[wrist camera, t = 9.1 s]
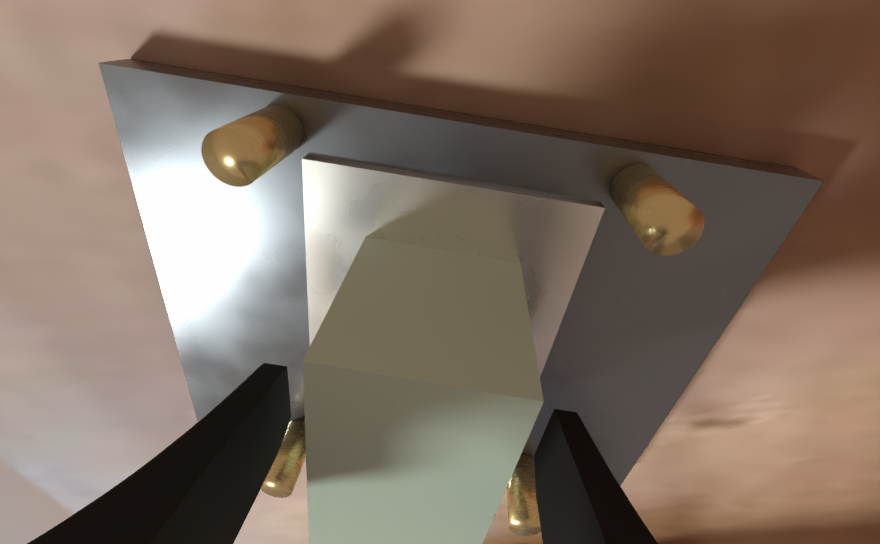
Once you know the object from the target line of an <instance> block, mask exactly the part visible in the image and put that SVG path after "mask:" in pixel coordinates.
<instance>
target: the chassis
mask: <svg viewBox="0 0 880 544" xmlns="http://www.w3.org/2000/svg"><path fill="white" fill-rule="evenodd" d="M99 66H100V70H101V73H102V77H103V80H104V84H105V88H106V91H107V95H108V99H109V102H110V106H111V109H112V113H113V117H114V120H115V124H116V128H117V131H118V135H119V138H120V142H121V146H122V149H123V153H124V156H125V160H126V164H127V167H128V171H129V175H130V178H131V182H132V185H133V189H134V193H135V196H136V200H137V203H138V207H139V211H140V214H141V218H142V222H143V225H144V229H145V232H146V236H147V240H148V243H149V247H150V250H151V254H152V258H153V261H154V265H155V269H156V272H157V276H158V279H159V283H160V287H161V290H162V294H163V297H164V301H165V305H166V308H167V312H168V316H169V319H170V323H171V326H172V330H173V334H174V337H175V341H176V344H177V348H178V352H179V355H180V359H181V363H182V366H183V370H184V373H185V377H186V381H187V384H188V388H189V391H190V395H191V399H192V402H193V406H194V410H195V413H196V417H197V420H198V422H199V421H200V420H201V419H202V418H203V417H205V416H206V415H207V414H208V413H209V412H210V411H211V410H213V409H214V408H215V407H216V406H217V405H218V404H219V403H221V402H222V401H223V400H224V399H225V398H226V397H227V396H228V395H229V394H231V393H232V392H233V391H234V390H235V389H236V388H237V387H238V386H239V385H240V384H241V383H242V382H244V381H245V380H246V379H247V378H248V377H249V376H250V375H251V374H252V373H253V372H254V371H255V370H256V369H257V368H258V367H259V366H261V365H262V364H264V363H268V364H275V365H281V366H287V371H288V382H289V394H290V406H291V419H290V422H289V425H288V427H287V430H286V433H285V436H284V439H283V441H282V444H281V446H280V449H279V452H278V454H277V456H276V458H275V460H274V463H273V465H272V467H271V469H270V471H269V473H268V475H267V477H266V479H265V481H264V483H263V485H262V487H261V490H262V491H263V492H265V493H266V494H268V495H271V496H274V497H288V496H290V495H291V494H292V491H293V489H294V486H295V484H296V481H297V478H298V476H299V473H300V471H301V468H302V466H303V463H304V460H305V458H306V439H305V412H304V386H303V359H304V357H305V355H306V353H307V351H308V349H309V347H310V345H311V343H312V341H313V339H314V338H315V336H316V334H317V332H318V330H319V328H320V326H321V324H322V322H323V320H324V318H325V316H326V314H327V312H328V310H329V308H330V306H331V304H332V302H333V300H334V298H335V296H336V294H337V292H338V290H339V288H340V286H341V284H342V282H343V280H344V278H345V276H346V274H347V272H348V270H349V268H350V266H351V264H352V262H353V260H354V258H355V256H356V254H357V252H358V250H359V248H360V246H361V244H362V243H363V241H364V239H365V237H366V236H367V237H372V238H378V239H384V240H390V241H395V242H401V243H407V244H413V245H418V246H424V247H430V248H436V249H441V250H447V251H453V252H459V253H464V254H470V255H476V256H482V257H488V258H493V259H499V260H505V261H511V262H516V263H521V269H522V275H523V281H524V287H525V293H526V299H527V305H528V311H529V317H530V323H531V329H532V335H533V341H534V347H535V353H536V358H537V364H538V370H539V376H540V382H541V388H542V394H543V400H544V402H543V405H542V407H541V409H540V412H539V414H538V416H537V419H536V421H535V423H534V426H533V428H532V430H531V432H530V435H529V437H528V439H527V442H526V444H525V446H524V449H523V451H522V453H521V456H520V458H519V460H518V463H517V465H516V467H515V469H514V472H513V474H512V476H511V479H510V481H509V483H508V486H507V502H508V519H509V529H510V530H511V531H512V532H513V533H515V534H518V535H523V536H530V535H535V534H537V533H539V532H540V531H541V526H540V519H539V513H538V506H537V499H536V488H535V463H534V454H535V452H536V449H537V447H538V445H539V443H540V440H541V438H542V436H543V433H544V431H545V429H546V427H547V424H548V422H549V420H550V417H551V415H552V413H553V411H554V409H559V410H565V411H572V412H577V413H578V415H579V416H580V418H581V420H582V421H583V423H584V425H585V427H586V429H587V430H588V432H589V434H590V436H591V438H592V439H593V441H594V443H595V445H596V446H597V448H598V450H599V452H600V453H601V455H602V457H603V458H604V460H605V462H606V464H607V465H608V467H609V469H610V470H611V472H612V474H613V475H614V477H615V479H616V480H617V482H618V483H619V485H621V484H622V482H623V481H624V479H625V478H626V476H627V475H628V473H629V472H630V470H631V469H632V467H633V466H634V464H635V463H636V461H637V460H638V459H639V457H640V456H641V454H642V453H643V451H644V450H645V448H646V447H647V445H648V444H649V442H650V441H651V439H652V438H653V436H654V435H655V433H656V432H657V430H658V429H659V427H660V426H661V424H662V423H663V421H664V420H665V418H666V417H667V415H668V414H669V412H670V411H671V409H672V408H673V406H674V405H675V403H676V402H677V400H678V399H679V397H680V396H681V394H682V393H683V391H684V390H685V388H686V387H687V385H688V384H689V382H690V381H691V379H692V378H693V376H694V375H695V373H696V372H697V370H698V369H699V367H700V366H701V364H702V363H703V361H704V360H705V358H706V357H707V355H708V354H709V352H710V351H711V349H712V348H713V346H714V345H715V343H716V342H717V340H718V339H719V337H720V336H721V335H722V333H723V332H724V330H725V329H726V327H727V326H728V324H729V323H730V321H731V320H732V318H733V317H734V315H735V314H736V312H737V311H738V309H739V308H740V306H741V305H742V303H743V302H744V300H745V299H746V297H747V296H748V294H749V293H750V291H751V290H752V288H753V287H754V285H755V284H756V282H757V281H758V279H759V278H760V276H761V275H762V273H763V272H764V270H765V269H766V267H767V266H768V264H769V263H770V261H771V260H772V258H773V257H774V255H775V254H776V252H777V251H778V249H779V248H780V246H781V245H782V243H783V242H784V240H785V239H786V237H787V236H788V234H789V233H790V231H791V230H792V228H793V227H794V225H795V224H796V222H797V221H798V219H799V218H800V216H801V215H802V213H803V212H804V211H805V209H806V208H807V206H808V205H809V203H810V202H811V200H812V199H813V197H814V196H815V194H816V193H817V191H818V190H819V188H820V187H821V185H822V184H823V182H824V181H822V180H820V179H818V178H816V177H814V176H812V175H810V174H808V173H806V172H804V171H802V170H800V169H798V168H792V167H786V166H780V165H773V164H767V163H761V162H755V161H749V160H743V159H737V158H731V157H724V156H718V155H712V154H706V153H700V152H694V151H688V150H682V149H676V148H669V147H663V146H657V145H651V144H645V143H639V142H633V141H627V140H620V139H614V138H608V137H602V136H596V135H590V134H584V133H578V132H572V131H565V130H559V129H553V128H547V127H541V126H535V125H529V124H523V123H516V122H510V121H504V120H498V119H492V118H486V117H480V116H474V115H468V114H461V113H455V112H449V111H443V110H437V109H431V108H425V107H419V106H412V105H406V104H400V103H394V102H388V101H382V100H376V99H370V98H364V97H357V96H351V95H345V94H339V93H333V92H327V91H321V90H315V89H308V88H302V87H296V86H290V85H284V84H278V83H272V82H266V81H260V80H253V79H247V78H241V77H235V76H229V75H223V74H217V73H211V72H204V71H198V70H192V69H186V68H180V67H174V66H168V65H162V64H156V63H149V62H143V61H137V60H131V59H124V60H117V61H109V62H101V63H99Z"/></svg>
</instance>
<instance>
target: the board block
mask: <svg viewBox="0 0 880 544" xmlns="http://www.w3.org/2000/svg"><path fill="white" fill-rule="evenodd" d="M303 386H304V412H305V439H306V466H307V493H308V520H309V544H482V543H483V541H484V539H485V536H486V534H487V532H488V530H489V527H490V525H491V523H492V520H493V518H494V516H495V513H496V511H497V509H498V506H499V504H500V502H501V499H502V497H503V495H504V493H505V490H506V488H507V486H508V483H509V481H510V479H511V476H512V474H513V472H514V469H515V467H516V465H517V463H518V460H519V458H520V456H521V453H522V451H523V449H524V446H525V444H526V442H527V439H528V437H529V435H530V432H531V430H532V428H533V426H534V423H535V421H536V419H537V416H538V414H539V412H540V409H541V407H542V405H543V402H544V400H543V394H542V388H541V382H540V376H539V370H538V364H537V358H536V353H535V347H534V341H533V335H532V329H531V323H530V317H529V311H528V305H527V299H526V293H525V287H524V281H523V275H522V269H521V263H516V262H511V261H505V260H499V259H493V258H488V257H482V256H476V255H470V254H464V253H459V252H453V251H447V250H441V249H436V248H430V247H424V246H418V245H413V244H407V243H401V242H395V241H390V240H384V239H378V238H372V237H367V236H366V237H365V239H364V241H363V243H362V244H361V246H360V248H359V250H358V252H357V254H356V256H355V258H354V260H353V262H352V264H351V266H350V268H349V270H348V272H347V274H346V276H345V278H344V280H343V282H342V284H341V286H340V288H339V290H338V292H337V294H336V296H335V298H334V300H333V302H332V304H331V306H330V308H329V310H328V312H327V314H326V316H325V318H324V320H323V322H322V324H321V326H320V328H319V330H318V332H317V334H316V336H315V338H314V339H313V341H312V343H311V345H310V347H309V349H308V351H307V353H306V355H305V357H304V359H303Z"/></svg>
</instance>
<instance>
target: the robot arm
mask: <svg viewBox="0 0 880 544" xmlns="http://www.w3.org/2000/svg"><path fill="white" fill-rule="evenodd" d="M290 419H291V406H290V394H289V382H288V371H287V366H281V365H275V364H268V363H264V364H262V365H261V366H259V367H258V368H257V369H256V370H255V371H254V372H253V373H252V374H251V375H250V376H249V377H248V378H247V379H246V380H245V381H244V382H242V383H241V384H240V385H239V386H238V387H237V388H236V389H235V390H234V391H233V392H232V393H231V394H229V395H228V396H227V397H226V398H225V399H224V400H223V401H222V402H221V403H219V404H218V405H217V406H216V407H215V408H214V409H213V410H211V411H210V412H209V413H208V414H207V415H206V416H205V417H203V418H202V419H201V420H200V421H199V422H198V423H196V424H195V425H194V426H193V427H192V428H191V429H189V430H188V431H187V432H186V433H185V434H183V435H182V436H181V437H180V438H178V439H177V440H176V441H175V442H173V443H172V444H171V445H170V446H168V447H167V448H166V449H165V450H163V451H162V452H161V453H160V454H158V455H157V456H156V457H155V458H153V459H152V460H151V461H149V462H148V463H147V464H145V465H144V466H143V467H141V468H140V469H139V470H137V471H136V472H135V473H133V474H132V475H131V476H129V477H128V478H126V479H125V480H124V481H122V482H121V483H119V484H118V485H117V486H115V487H114V488H112V489H111V490H109V491H108V492H107V493H105V494H104V495H102V496H101V497H99V498H98V499H96V500H95V501H93V502H92V503H90V504H89V505H87V506H86V507H84V508H83V509H81V510H80V511H78V512H77V513H75V514H74V515H72V516H71V517H69V518H68V519H66V520H65V521H63V522H62V523H60V524H58V525H57V526H55V527H54V528H52V529H51V530H49V531H47V532H46V533H44V534H43V535H41V536H39V537H38V538H36V539H34V540H33V541H31V542H29V543H28V544H233V543H234V541H235V539H236V537H237V535H238V533H239V531H240V529H241V527H242V525H243V523H244V521H245V519H246V517H247V515H248V513H249V511H250V509H251V507H252V505H253V503H254V501H255V499H256V497H257V495H258V493H259V491H260V489H261V487H262V485H263V483H264V481H265V479H266V477H267V475H268V473H269V471H270V469H271V467H272V465H273V463H274V460H275V458H276V456H277V454H278V452H279V449H280V446H281V444H282V441H283V439H284V436H285V433H286V430H287V427H288V425H289V422H290ZM534 463H535V488H536V499H537V506H538V513H539V519H540V526H541V533H542V539H543V544H658V543H657V542H656V540H655V539H654V537H653V536H652V534H651V533H650V531H649V530H648V528H647V527H646V525H645V524H644V523H643V521H642V520H641V518H640V517H639V515H638V514H637V512H636V510H635V509H634V507H633V506H632V504H631V503H630V501H629V500H628V498H627V496H626V495H625V493H624V492H623V490H622V488H621V487H620V485H619V483H618V482H617V480H616V479H615V477H614V475H613V474H612V472H611V470H610V469H609V467H608V465H607V464H606V462H605V460H604V458H603V457H602V455H601V453H600V452H599V450H598V448H597V446H596V445H595V443H594V441H593V439H592V438H591V436H590V434H589V432H588V430H587V429H586V427H585V425H584V423H583V421H582V420H581V418H580V416H579V415H578V413H577V412H572V411H565V410H559V409H554V411H553V413H552V415H551V417H550V420H549V422H548V424H547V427H546V429H545V431H544V433H543V436H542V438H541V440H540V443H539V445H538V447H537V449H536V452H535V454H534Z"/></svg>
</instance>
